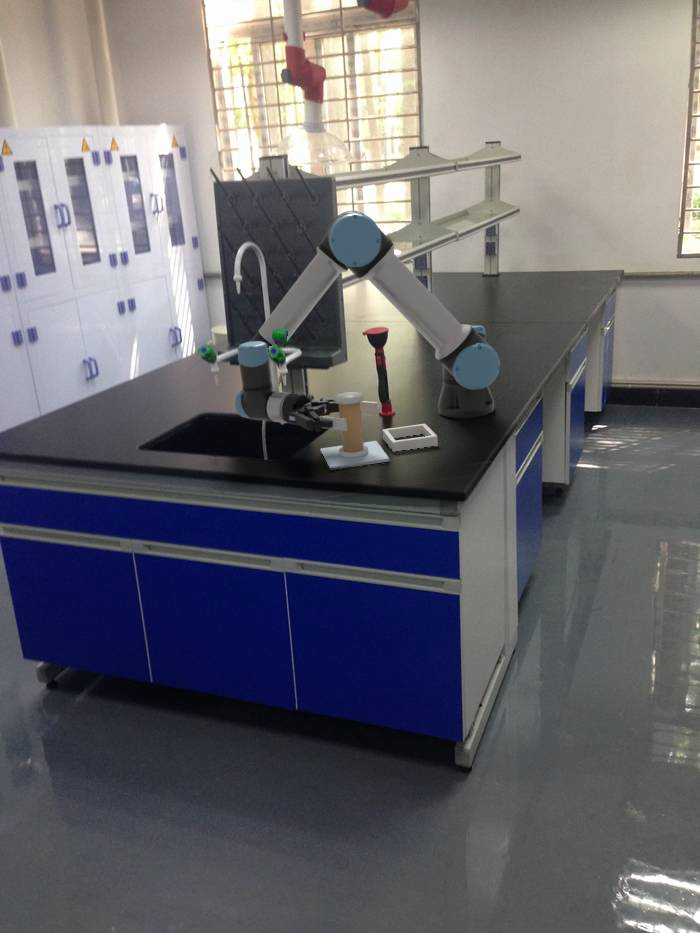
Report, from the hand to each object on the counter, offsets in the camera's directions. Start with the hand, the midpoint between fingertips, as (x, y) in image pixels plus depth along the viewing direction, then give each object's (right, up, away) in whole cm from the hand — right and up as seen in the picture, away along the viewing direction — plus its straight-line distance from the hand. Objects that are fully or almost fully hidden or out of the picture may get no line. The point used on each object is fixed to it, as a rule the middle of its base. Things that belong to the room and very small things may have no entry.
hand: (362, 416), depth 193 cm
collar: (+12, -6, +12) cm, 18 cm away
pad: (-2, -9, +5) cm, 11 cm away
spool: (-2, -8, +5) cm, 10 cm away
